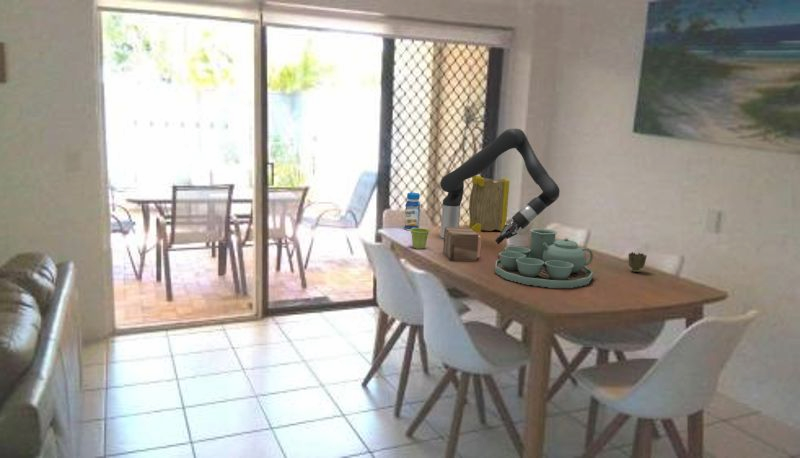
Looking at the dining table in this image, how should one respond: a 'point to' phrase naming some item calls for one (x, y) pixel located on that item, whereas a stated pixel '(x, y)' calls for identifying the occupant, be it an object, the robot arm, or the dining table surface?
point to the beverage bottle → (412, 211)
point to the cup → (637, 261)
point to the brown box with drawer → (460, 244)
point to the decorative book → (488, 204)
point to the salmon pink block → (479, 246)
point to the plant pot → (419, 237)
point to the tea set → (546, 262)
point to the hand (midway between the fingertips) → (496, 242)
